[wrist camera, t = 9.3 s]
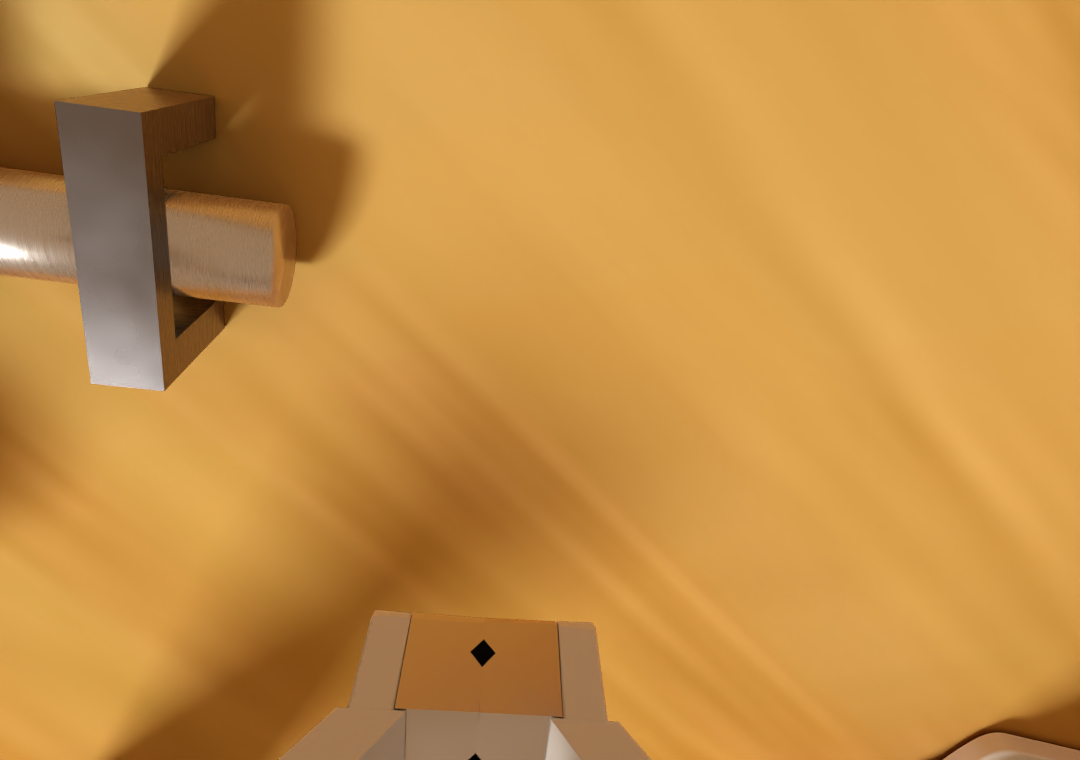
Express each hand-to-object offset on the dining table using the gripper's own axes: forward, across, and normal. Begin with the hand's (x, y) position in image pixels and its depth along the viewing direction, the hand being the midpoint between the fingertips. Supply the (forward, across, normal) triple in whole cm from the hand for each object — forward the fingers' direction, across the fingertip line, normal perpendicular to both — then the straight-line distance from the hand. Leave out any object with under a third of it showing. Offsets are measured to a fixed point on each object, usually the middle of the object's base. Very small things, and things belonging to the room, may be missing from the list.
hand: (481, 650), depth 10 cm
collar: (+17, +10, -1) cm, 20 cm away
